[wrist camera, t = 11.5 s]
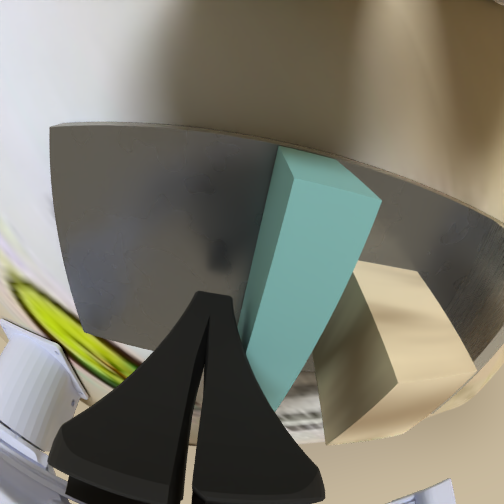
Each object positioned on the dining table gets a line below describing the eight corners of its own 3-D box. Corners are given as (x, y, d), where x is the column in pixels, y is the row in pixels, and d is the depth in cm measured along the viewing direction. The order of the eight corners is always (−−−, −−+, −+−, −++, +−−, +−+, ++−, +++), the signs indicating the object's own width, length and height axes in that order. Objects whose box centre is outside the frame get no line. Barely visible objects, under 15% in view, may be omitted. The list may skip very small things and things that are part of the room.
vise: (421, 359, 17) (442, 410, 13) (90, 320, 15) (59, 382, 11) (506, 224, 11) (556, 271, 6) (63, 123, 9) (-22, 154, 4)
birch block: (373, 341, 14) (402, 433, 9) (309, 337, 13) (326, 445, 8) (416, 271, 11) (477, 370, 6) (346, 258, 11) (398, 382, 6)
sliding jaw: (262, 370, 15) (263, 429, 12) (228, 366, 15) (223, 425, 11) (335, 159, 9) (381, 200, 5) (278, 145, 8) (294, 177, 5)
